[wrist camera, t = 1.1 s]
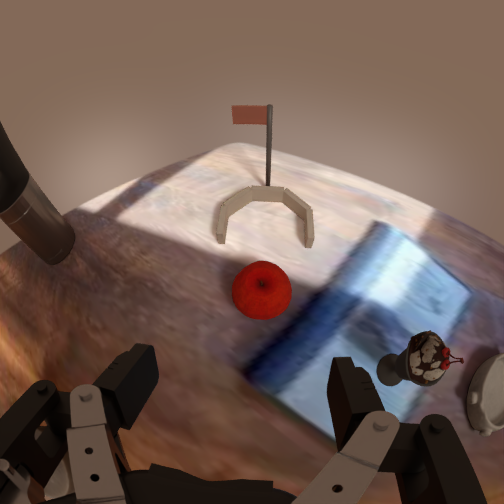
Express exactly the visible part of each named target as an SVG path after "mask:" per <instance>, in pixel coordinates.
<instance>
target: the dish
mask: <svg viewBox="0 0 504 504" xmlns="http://www.w3.org/2000/svg"><path fill="white" fill-rule="evenodd" d="M467 413H468V418H469V421H470V423H471V425H472V427H473V428H474V429H475V430H477V431H480V435H481V436H489V435H490V434H491V432H493V431H497V430H500V429H502V428H503V427H504V353H501V354H497V355H495V356H493V357H491V358H489V359H487V360H486V361H485V362H483V363H482V364H481V365H480V367H479V368H478V369H477V371H476V372H475V374H474V376H473V379H472V381H471V384H470V387H469V390H468V395H467Z"/></svg>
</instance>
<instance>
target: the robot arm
mask: <svg viewBox="0 0 504 504" xmlns="http://www.w3.org/2000/svg"><path fill="white" fill-rule="evenodd" d="M0 218H1V219H2V221H3V222H4V223H5V224H6V225H7V226H8V227H9V228H10V229H11V230H12V231H13V232H14V233H15V234H16V235H17V236H18V237H19V238H20V239H21V240H22V241H23V242H24V243H25V244H26V245H27V246H29V247H30V248H31V249H32V250H33V251H34V252H35V253H36V254H37V255H38V256H39V257H40V258H42V259H43V260H44V261H45V262H46V263H48V264H57V263H59V262H60V261H62V260H63V259H64V258H65V257H66V256H67V255H68V253H69V252H70V250H71V249H72V246H73V244H74V240H75V234H74V231H73V229H72V228H71V227H70V226H69V224H68V223H67V222H66V221H65V220H64V218H63V217H62V216H61V215H60V213H59V212H58V211H57V210H56V208H55V207H54V206H53V204H52V203H51V202H50V201H49V200H48V198H47V197H46V195H45V194H44V193H43V192H42V190H41V189H40V187H39V186H38V185H37V183H36V182H35V181H34V179H33V178H32V176H31V175H30V173H29V172H28V171H27V169H26V168H25V166H24V164H23V163H22V161H21V159H20V157H19V156H18V154H17V152H16V151H15V149H14V148H13V146H12V144H11V142H10V140H9V138H8V136H7V134H6V132H5V130H4V128H3V126H2V124H1V122H0ZM158 379H159V371H158V366H157V361H156V356H155V351H154V347H153V346H152V345H146V344H141V343H136V344H135V345H134V346H133V347H132V349H131V350H130V351H129V352H128V351H126V352H124V353H122V354H120V355H119V356H117V357H116V358H115V360H114V361H113V362H112V363H111V364H110V365H109V366H108V369H107V368H106V370H105V371H104V372H103V373H102V374H101V375H100V376H99V377H98V379H97V380H96V381H95V382H94V383H93V384H92V385H89V384H86V385H80V386H78V387H76V388H75V389H73V390H72V392H71V393H70V392H61V391H57V388H56V386H55V384H54V383H53V382H51V381H49V380H41V381H38V382H36V383H34V384H33V385H32V386H31V387H30V388H29V389H28V390H27V391H26V392H25V393H24V394H23V395H22V396H21V397H20V398H19V399H18V400H17V401H16V402H15V403H14V404H13V405H12V406H11V407H10V409H9V410H8V411H7V412H6V413H5V414H4V415H3V416H2V417H1V418H0V504H357V502H358V501H359V499H360V498H361V496H362V495H363V493H364V492H365V490H366V489H367V487H368V486H369V484H370V483H371V481H372V479H373V478H374V476H375V474H376V473H377V472H392V473H395V475H396V479H397V484H398V488H399V493H400V497H401V502H402V504H487V501H486V499H485V496H484V494H483V491H482V488H481V486H480V483H479V481H478V479H477V476H476V474H475V472H474V469H473V467H472V465H471V463H470V460H469V458H468V456H467V454H466V452H465V450H464V448H463V446H462V443H461V441H460V439H459V437H458V435H457V433H456V431H455V430H454V428H453V426H452V424H451V422H450V421H449V420H448V419H447V418H446V417H444V416H442V415H438V414H431V415H428V416H426V417H424V418H423V419H422V421H421V422H420V424H409V423H401V422H399V420H398V419H397V417H396V416H395V415H393V414H391V413H389V412H386V411H385V409H384V406H383V404H382V402H381V399H380V397H379V395H378V393H377V390H376V389H375V386H374V384H373V383H372V379H371V377H370V375H369V373H368V372H367V371H366V370H364V369H363V368H362V367H355V366H354V363H353V361H352V358H351V357H334V358H333V360H332V364H331V369H330V374H329V379H328V384H327V398H328V403H329V408H330V413H331V417H332V423H333V428H334V433H335V438H336V443H337V449H338V452H337V453H336V454H335V455H334V456H333V457H332V459H331V460H330V461H329V462H328V464H327V465H326V466H325V467H324V468H323V470H322V471H321V472H320V473H319V474H318V475H317V477H316V478H315V479H314V480H313V481H312V482H311V483H310V484H309V485H308V486H307V488H306V489H305V490H304V491H303V492H302V493H301V494H300V495H299V496H298V497H296V496H295V495H293V494H290V493H288V492H286V491H283V490H280V489H275V488H273V481H264V480H246V479H238V480H227V481H206V480H203V479H200V478H198V477H195V476H193V475H190V474H188V473H186V472H183V471H181V470H178V469H173V468H169V467H165V466H161V465H157V464H153V463H152V464H151V466H150V468H149V470H134V471H131V469H130V467H129V464H128V462H127V459H126V456H125V453H124V450H123V447H122V443H121V440H120V437H119V434H118V430H119V428H120V427H121V428H124V429H127V430H130V429H131V427H132V425H133V424H134V422H135V420H136V418H137V417H138V415H139V413H140V412H141V410H142V408H143V407H144V405H145V403H146V402H147V400H148V398H149V397H150V395H151V393H152V391H153V390H154V388H155V386H156V385H157V383H158ZM44 420H45V422H46V424H47V427H46V428H45V429H44V431H43V432H42V433H41V435H40V436H39V437H38V438H37V440H35V431H36V429H37V428H38V427H39V426H40V424H41V423H42V422H43V421H44ZM67 451H69V458H70V465H71V472H72V477H73V483H74V488H75V492H74V493H71V494H68V495H64V496H61V497H58V498H55V499H51V500H48V501H46V500H45V498H44V497H45V493H44V488H45V486H46V485H47V483H48V481H49V480H50V478H51V476H52V475H53V473H54V472H55V470H56V468H57V467H58V465H59V463H60V462H61V460H62V459H63V457H64V455H65V454H66V452H67ZM340 451H341V452H340Z"/></svg>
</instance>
